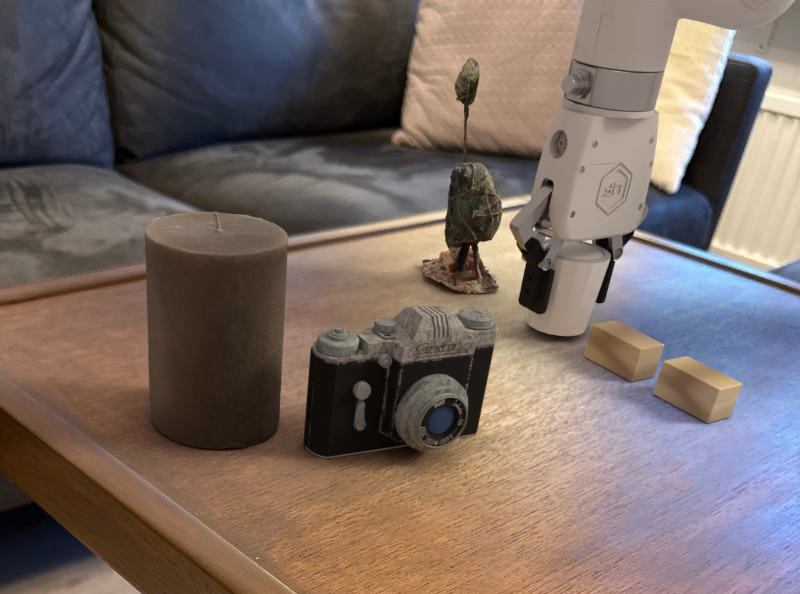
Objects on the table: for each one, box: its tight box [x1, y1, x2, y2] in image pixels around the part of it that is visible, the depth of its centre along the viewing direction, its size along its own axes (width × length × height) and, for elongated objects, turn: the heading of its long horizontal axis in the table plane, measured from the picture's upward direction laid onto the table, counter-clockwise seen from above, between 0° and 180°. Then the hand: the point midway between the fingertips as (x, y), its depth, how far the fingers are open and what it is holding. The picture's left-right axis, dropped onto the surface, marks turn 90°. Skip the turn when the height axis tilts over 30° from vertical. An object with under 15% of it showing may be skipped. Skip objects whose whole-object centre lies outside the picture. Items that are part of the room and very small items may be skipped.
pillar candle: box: [144, 211, 289, 450], centre depth 69 cm, size 10×10×15 cm
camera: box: [302, 304, 499, 459], centre depth 70 cm, size 15×7×10 cm, turn 115°
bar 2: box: [652, 355, 744, 424], centre depth 82 cm, size 6×3×3 cm, turn 32°
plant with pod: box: [421, 57, 504, 295], centre depth 96 cm, size 8×11×20 cm
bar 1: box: [583, 319, 665, 383], centre depth 87 cm, size 6×3×3 cm, turn 32°
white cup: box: [526, 238, 611, 337], centre depth 91 cm, size 7×7×7 cm
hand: (561, 302), depth 92 cm, fingers closed on white cup, 6 cm apart
